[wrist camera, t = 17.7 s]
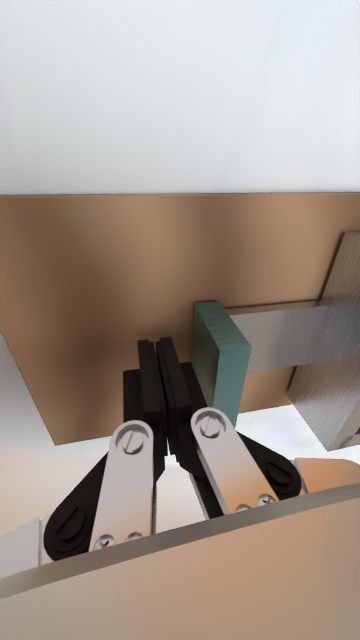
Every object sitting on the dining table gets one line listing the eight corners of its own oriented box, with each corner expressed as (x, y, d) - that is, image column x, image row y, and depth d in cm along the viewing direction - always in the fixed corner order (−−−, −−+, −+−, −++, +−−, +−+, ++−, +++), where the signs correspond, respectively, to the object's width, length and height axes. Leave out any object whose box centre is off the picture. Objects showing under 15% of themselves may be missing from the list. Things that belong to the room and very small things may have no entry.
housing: (189, 412, 15) (207, 477, 12) (197, 238, 10) (235, 272, 6) (399, 376, 18) (461, 422, 15) (502, 225, 12) (640, 245, 9)
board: (60, 424, 16) (55, 445, 15) (-36, 195, 9) (-62, 198, 8) (396, 370, 21) (414, 382, 20) (515, 190, 14) (554, 192, 12)
